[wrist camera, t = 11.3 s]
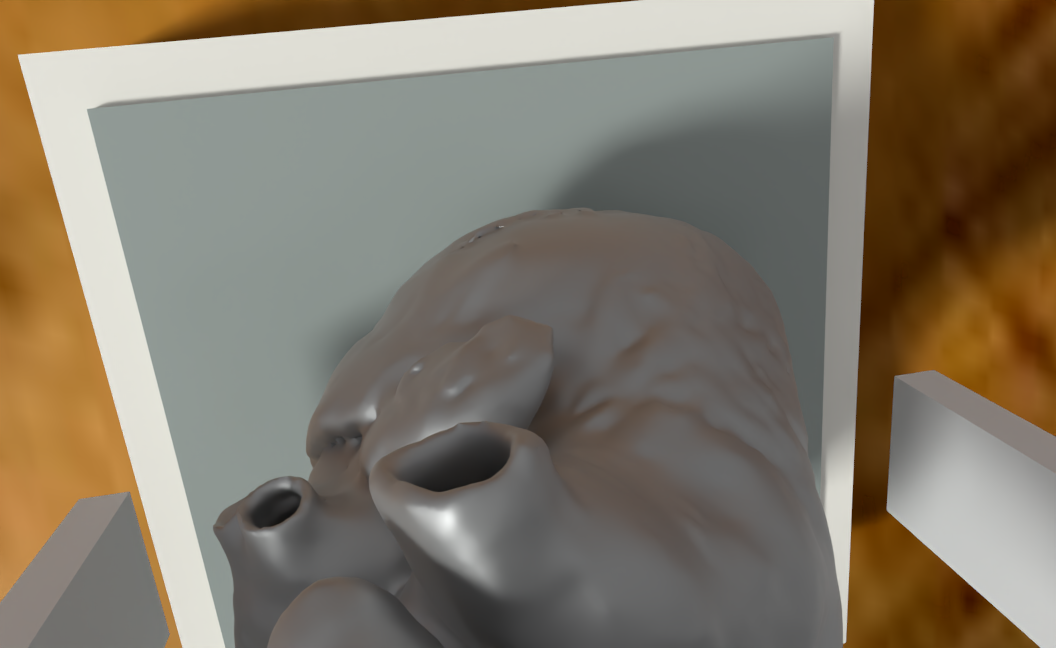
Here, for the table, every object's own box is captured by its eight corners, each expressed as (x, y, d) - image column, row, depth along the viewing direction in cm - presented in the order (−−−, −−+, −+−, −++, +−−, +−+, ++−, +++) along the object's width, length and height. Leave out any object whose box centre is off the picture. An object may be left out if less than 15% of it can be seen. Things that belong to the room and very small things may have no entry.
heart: (506, 705, 19) (833, 1518, 7) (164, 476, 16) (-184, 1266, 4) (777, 380, 19) (1472, 667, 8) (499, 98, 16) (982, -95, 5)
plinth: (246, 647, 23) (212, 773, 18) (100, 59, 18) (9, 54, 13) (777, 554, 24) (852, 650, 20) (782, -2, 19) (883, -23, 15)
